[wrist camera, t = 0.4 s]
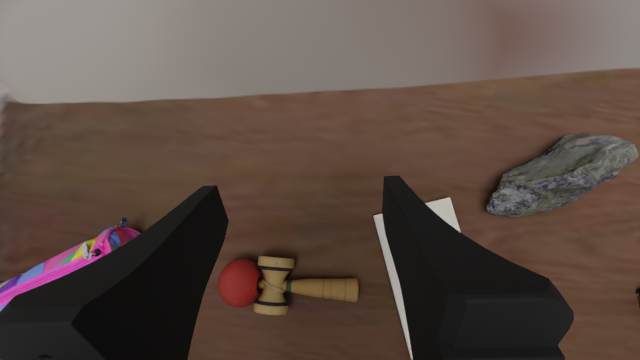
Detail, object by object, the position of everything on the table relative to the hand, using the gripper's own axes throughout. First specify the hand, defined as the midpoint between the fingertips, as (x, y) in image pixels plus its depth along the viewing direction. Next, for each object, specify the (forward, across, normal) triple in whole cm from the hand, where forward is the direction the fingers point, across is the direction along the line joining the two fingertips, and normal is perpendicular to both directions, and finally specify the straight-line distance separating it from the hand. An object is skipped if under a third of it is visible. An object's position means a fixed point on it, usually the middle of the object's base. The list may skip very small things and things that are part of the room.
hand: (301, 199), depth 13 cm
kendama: (+16, +6, +27) cm, 32 cm away
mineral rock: (+23, -27, +16) cm, 39 cm away
